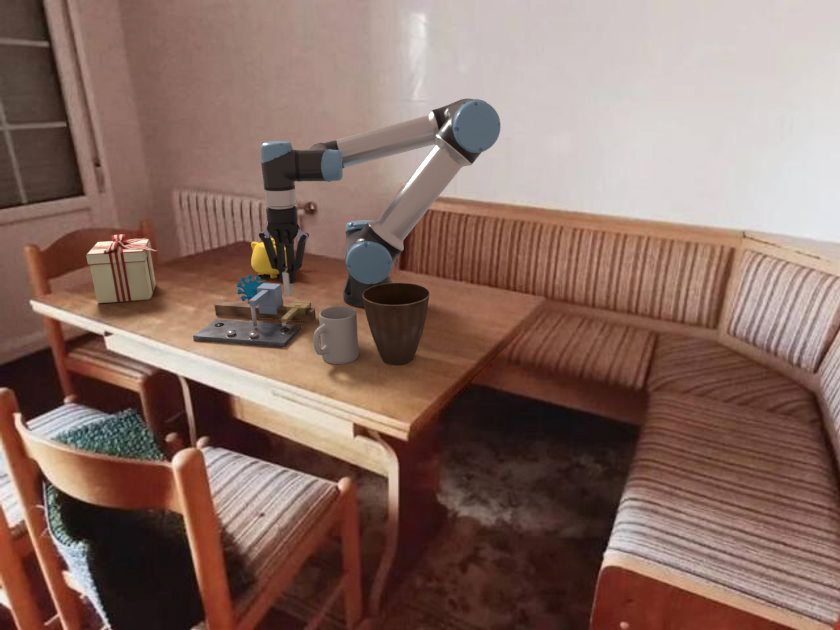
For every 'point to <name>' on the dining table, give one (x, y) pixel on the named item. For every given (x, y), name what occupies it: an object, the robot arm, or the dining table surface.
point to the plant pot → (396, 319)
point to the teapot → (263, 259)
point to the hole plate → (248, 333)
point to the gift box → (122, 269)
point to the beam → (245, 311)
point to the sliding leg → (266, 300)
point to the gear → (249, 287)
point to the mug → (337, 335)
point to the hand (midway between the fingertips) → (289, 294)
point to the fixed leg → (295, 311)
